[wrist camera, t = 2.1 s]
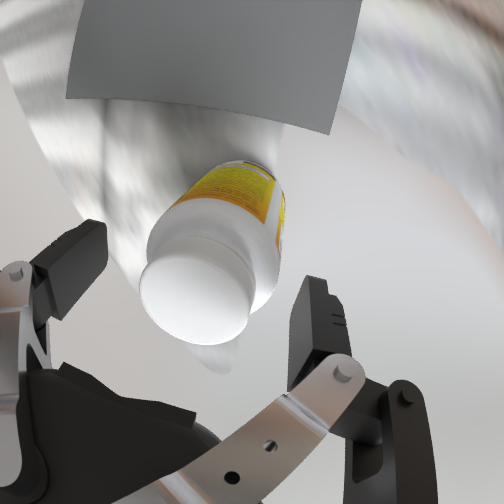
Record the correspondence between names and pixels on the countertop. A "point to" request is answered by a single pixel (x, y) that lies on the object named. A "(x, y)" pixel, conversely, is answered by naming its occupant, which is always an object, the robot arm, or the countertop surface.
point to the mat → (218, 55)
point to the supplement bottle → (215, 254)
